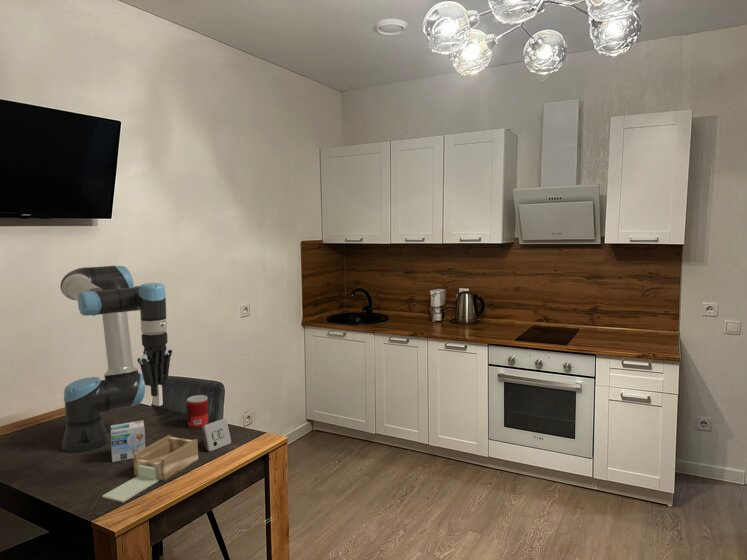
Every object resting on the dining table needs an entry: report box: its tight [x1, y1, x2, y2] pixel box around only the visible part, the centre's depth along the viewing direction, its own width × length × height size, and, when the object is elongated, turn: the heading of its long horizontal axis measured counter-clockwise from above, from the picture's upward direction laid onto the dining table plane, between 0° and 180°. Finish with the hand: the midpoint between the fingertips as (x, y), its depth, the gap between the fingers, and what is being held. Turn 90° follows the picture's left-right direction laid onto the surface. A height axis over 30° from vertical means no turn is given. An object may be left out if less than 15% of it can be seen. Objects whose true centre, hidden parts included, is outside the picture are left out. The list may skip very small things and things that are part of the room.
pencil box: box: [132, 434, 199, 482], centre depth 172 cm, size 12×16×7 cm
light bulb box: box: [110, 420, 146, 463], centre depth 181 cm, size 11×7×11 cm, turn 118°
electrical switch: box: [200, 418, 232, 452], centre depth 189 cm, size 9×5×9 cm, turn 141°
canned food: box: [186, 394, 210, 429], centre depth 209 cm, size 8×8×11 cm
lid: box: [101, 465, 160, 504], centre depth 158 cm, size 8×14×4 cm, turn 158°
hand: (157, 404), depth 168 cm, fingers closed
